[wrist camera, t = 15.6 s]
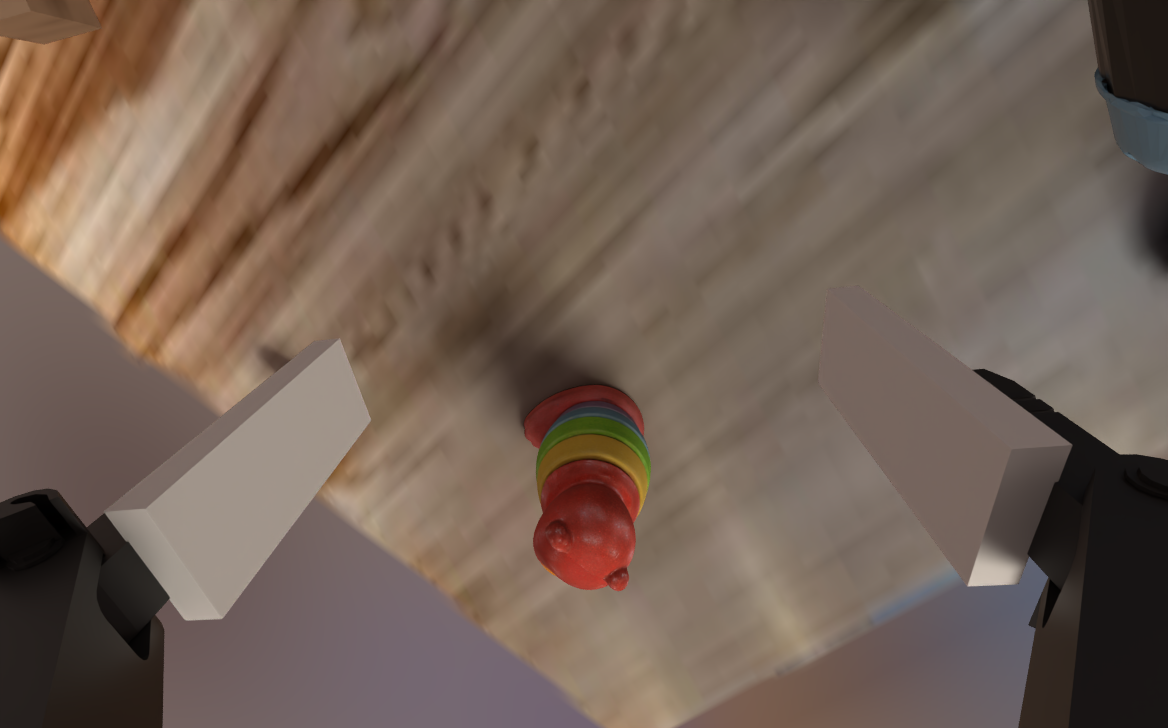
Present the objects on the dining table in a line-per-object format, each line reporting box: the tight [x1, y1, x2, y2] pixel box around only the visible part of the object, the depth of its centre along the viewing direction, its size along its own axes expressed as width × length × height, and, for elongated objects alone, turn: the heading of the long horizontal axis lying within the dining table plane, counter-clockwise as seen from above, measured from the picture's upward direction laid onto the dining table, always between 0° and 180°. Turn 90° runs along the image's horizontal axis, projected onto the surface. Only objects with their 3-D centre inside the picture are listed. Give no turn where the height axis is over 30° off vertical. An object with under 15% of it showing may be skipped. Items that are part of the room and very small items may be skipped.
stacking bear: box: [524, 385, 651, 591], centre depth 39 cm, size 11×10×18 cm
